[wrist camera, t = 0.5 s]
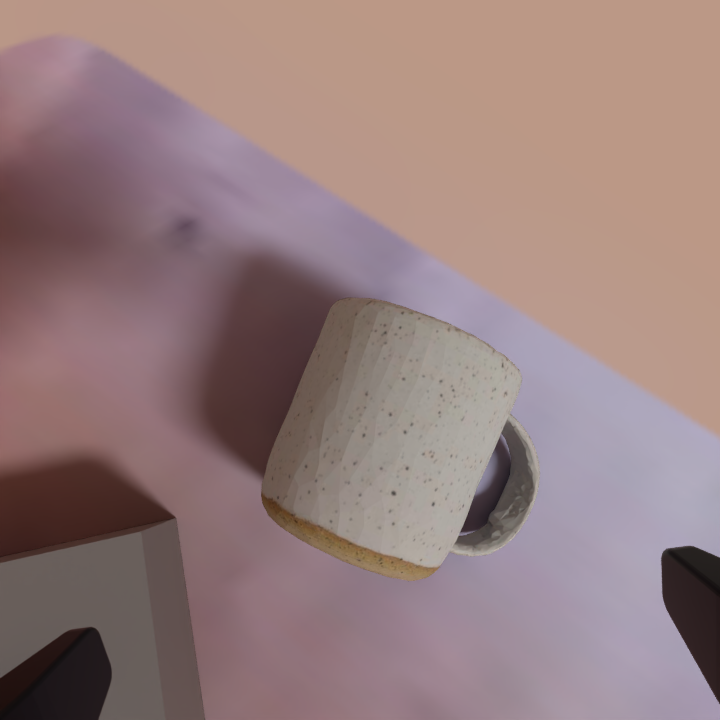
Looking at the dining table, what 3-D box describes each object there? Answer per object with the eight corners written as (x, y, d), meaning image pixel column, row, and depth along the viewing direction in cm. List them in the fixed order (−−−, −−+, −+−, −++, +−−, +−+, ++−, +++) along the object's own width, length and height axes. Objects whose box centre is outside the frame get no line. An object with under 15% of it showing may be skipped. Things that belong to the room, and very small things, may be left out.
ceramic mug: (259, 498, 21) (226, 523, 14) (332, 326, 23) (337, 264, 16) (490, 592, 22) (582, 666, 14) (547, 413, 23) (656, 393, 16)
